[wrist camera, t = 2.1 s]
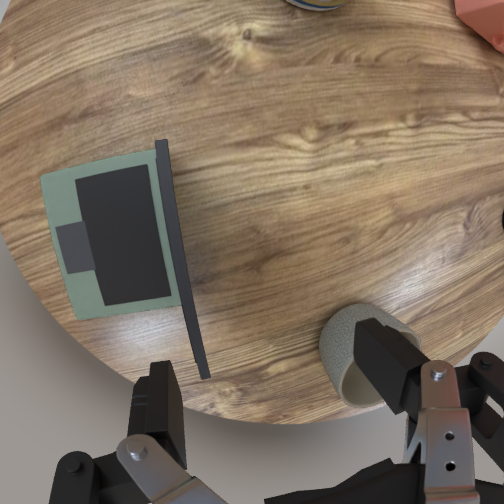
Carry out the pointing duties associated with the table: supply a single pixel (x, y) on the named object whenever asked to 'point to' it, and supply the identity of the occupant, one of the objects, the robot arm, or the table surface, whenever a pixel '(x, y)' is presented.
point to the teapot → (484, 19)
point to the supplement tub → (318, 4)
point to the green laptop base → (111, 235)
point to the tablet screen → (179, 254)
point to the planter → (341, 352)
